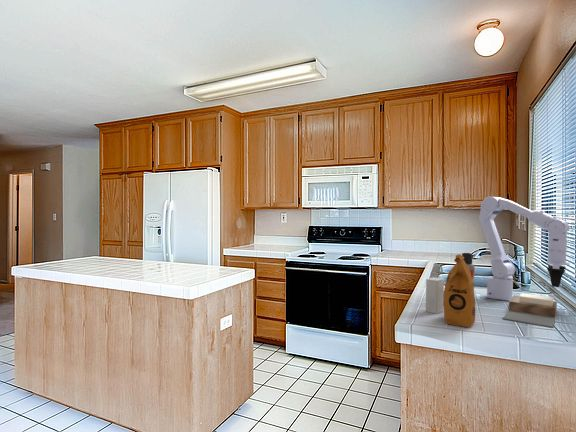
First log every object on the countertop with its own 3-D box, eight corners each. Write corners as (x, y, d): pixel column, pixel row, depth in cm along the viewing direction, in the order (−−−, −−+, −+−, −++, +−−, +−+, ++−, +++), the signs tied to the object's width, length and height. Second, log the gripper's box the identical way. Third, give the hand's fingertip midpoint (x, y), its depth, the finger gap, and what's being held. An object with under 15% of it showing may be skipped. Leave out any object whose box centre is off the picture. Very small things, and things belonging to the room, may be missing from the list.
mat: (502, 319, 125) (502, 318, 125) (508, 310, 136) (508, 309, 136) (553, 327, 116) (553, 326, 116) (555, 318, 127) (555, 317, 127)
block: (519, 301, 137) (519, 296, 137) (521, 298, 142) (521, 293, 142) (552, 306, 130) (552, 300, 130) (553, 302, 136) (553, 297, 136)
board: (508, 310, 137) (509, 301, 136) (513, 304, 147) (513, 295, 147) (555, 318, 128) (555, 308, 128) (556, 310, 138) (556, 301, 138)
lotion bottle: (458, 301, 149) (460, 252, 149) (457, 298, 154) (459, 251, 154) (474, 303, 147) (475, 253, 147) (472, 300, 152) (474, 252, 152)
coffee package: (439, 324, 118) (441, 256, 118) (444, 315, 129) (446, 253, 129) (473, 329, 113) (475, 259, 113) (476, 319, 124) (477, 255, 124)
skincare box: (432, 308, 137) (433, 277, 137) (443, 311, 134) (444, 278, 134) (425, 311, 133) (425, 278, 133) (436, 314, 130) (437, 280, 130)
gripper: (570, 253, 133) (568, 289, 134) (570, 250, 145) (568, 284, 145) (546, 251, 138) (545, 287, 138) (548, 248, 149) (546, 281, 149)
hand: (555, 285), depth 142 cm, fingers open, 7 cm apart
